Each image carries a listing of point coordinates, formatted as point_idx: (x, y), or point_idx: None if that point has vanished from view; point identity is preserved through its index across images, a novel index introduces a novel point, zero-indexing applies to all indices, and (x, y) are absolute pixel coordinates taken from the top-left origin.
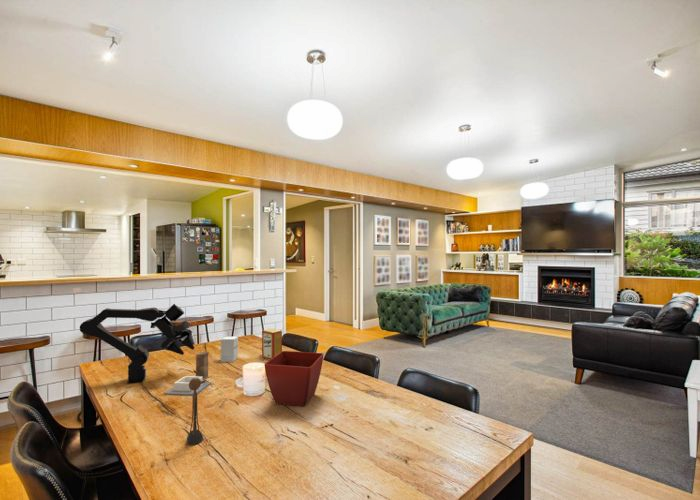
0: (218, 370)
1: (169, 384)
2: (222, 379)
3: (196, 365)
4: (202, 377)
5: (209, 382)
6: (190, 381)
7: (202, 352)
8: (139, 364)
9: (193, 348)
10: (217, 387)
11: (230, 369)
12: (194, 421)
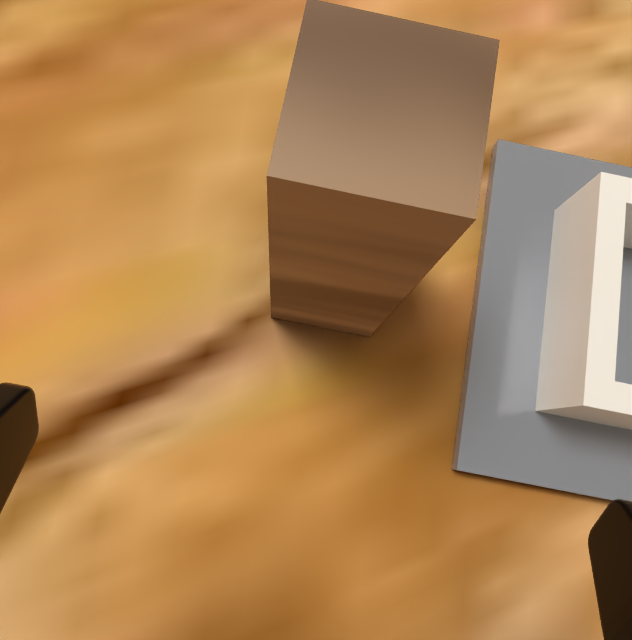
0: (62, 165)
1: (505, 610)
2: None
3: (410, 286)
4: (601, 177)
5: (511, 154)
6: None
7: (315, 116)
8: None
9: (34, 406)
10: (598, 71)
11: (54, 43)
12: None
